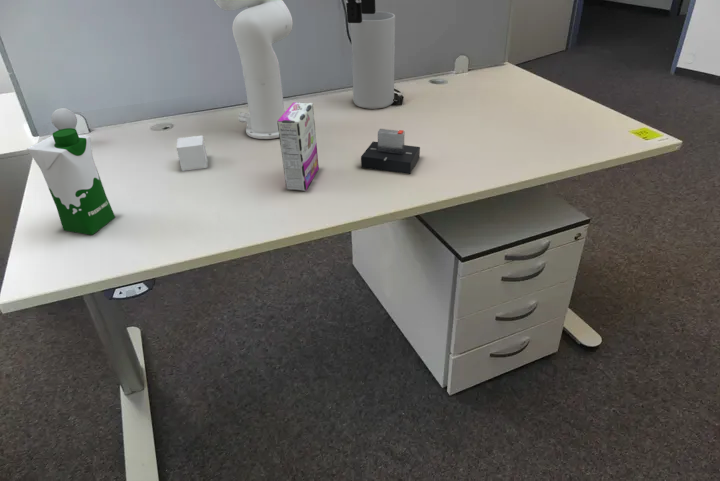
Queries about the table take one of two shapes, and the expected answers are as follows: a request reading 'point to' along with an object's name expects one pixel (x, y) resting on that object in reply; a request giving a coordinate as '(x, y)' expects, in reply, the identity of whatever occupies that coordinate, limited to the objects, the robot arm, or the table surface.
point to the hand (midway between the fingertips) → (362, 18)
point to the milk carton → (73, 181)
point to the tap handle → (391, 141)
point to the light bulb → (64, 119)
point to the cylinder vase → (373, 60)
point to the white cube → (192, 153)
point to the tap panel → (390, 159)
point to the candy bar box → (298, 145)
